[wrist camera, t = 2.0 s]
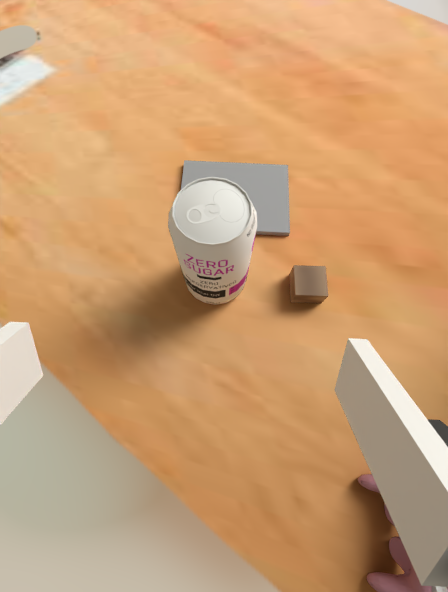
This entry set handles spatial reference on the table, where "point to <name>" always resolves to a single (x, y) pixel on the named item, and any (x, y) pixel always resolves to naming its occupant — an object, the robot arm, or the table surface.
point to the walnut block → (308, 284)
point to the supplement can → (213, 237)
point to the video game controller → (392, 587)
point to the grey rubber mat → (252, 189)
